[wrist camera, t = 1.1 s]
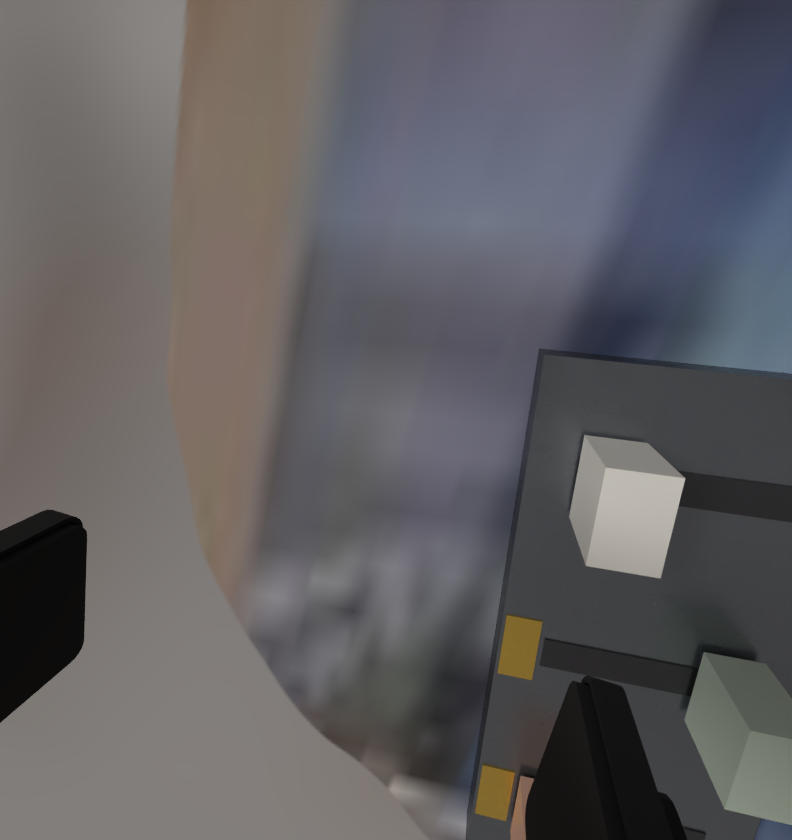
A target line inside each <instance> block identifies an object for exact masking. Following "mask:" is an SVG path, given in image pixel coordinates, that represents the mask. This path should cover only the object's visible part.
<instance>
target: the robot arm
mask: <svg viewBox="0 0 792 840" xmlns="http://www.w3.org/2000/svg"><path fill="white" fill-rule="evenodd" d="M86 552H87V532H86V530H85V529H84V528H83V525H82V522H81V520H80V519H78V518H77V517H74V516H70V515H67V514H64V513H61V512H57V511H54V510H45V511H42V512H40V513H38V514H35V515H33V516H31V517H29V518H27V519H25V520H23V521H20V522H19V523H16V524H14V525H12V526H10V527H8V528H6V529H3V530H1V531H0V722H2V721H3V720H4V719H5V718H6V717H7V716H8V715H10V714H11V713H12V712H13V711H14V710H15V709H17V708H18V707H19V706H20V705H21V704H22V703H24V702H25V701H26V700H27V699H28V698H30V697H31V696H32V695H33V694H34V693H35V692H37V691H38V690H39V689H40V688H41V687H42V686H43V685H45V684H46V683H47V682H48V681H49V680H51V679H52V678H53V677H54V676H55V675H56V674H58V673H59V672H60V671H61V670H62V669H63V668H65V667H66V666H67V665H68V664H69V663H70V662H71V661H72V660H74V659H75V658H76V656H77V655H78V654H79V652H80V650H81V648H82V645H83V642H84V621H85V587H86V586H85V585H86ZM525 832H526V840H687V837H686V834H685V832H684V829H683V826H682V823H681V820H680V817H679V815H678V812H677V810H676V808H675V806H674V803H673V801H672V800H671V799H670V798H669V797H668V796H667V794H664V793H661V792H658V790H657V787H656V784H655V781H654V778H653V775H652V772H651V769H650V766H649V763H648V760H647V757H646V754H645V751H644V748H643V745H642V742H641V738H640V735H639V732H638V729H637V726H636V723H635V720H634V717H633V714H632V711H631V708H630V705H629V702H628V699H627V696H626V693H625V691H624V689H623V687H621V686H620V685H617V684H614V683H611V682H607V681H604V680H601V679H598V678H594V677H591V676H585V677H584V678H583V679H582V681H581V683H579V682H576V681H572V682H571V683H570V685H569V687H568V689H567V692H566V695H565V698H564V700H563V703H562V706H561V708H560V711H559V714H558V716H557V719H556V722H555V724H554V727H553V730H552V732H551V735H550V738H549V740H548V743H547V746H546V749H545V751H544V754H543V757H542V759H541V762H540V765H539V767H538V770H537V773H536V775H535V778H534V781H533V783H532V786H531V789H530V792H529V794H528V798H527V803H526V810H525Z"/></svg>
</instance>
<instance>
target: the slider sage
mask: <svg viewBox="0 0 792 840" xmlns="http://www.w3.org/2000/svg"><path fill="white" fill-rule="evenodd" d="M685 723H686V725H687V727H688V729H689V732H690V734H691V736H692V738H693V741H694V743H695V745H696V747H697V749H698V752H699V754H700V756H701V758H702V761H703V763H704V765H705V767H706V769H707V772H708V774H709V776H710V778H711V781H712V783H713V785H714V787H715V789H716V792H717V794H718V796H719V798H720V801H721V803H722V805H723V807H724V809H725V810H730V811H734V812H738V813H742V814H746V815H751V816H755V817H759V818H763V819H768V820H772V821H776V822H780V823H784V824H789V825H792V698H791V697H790V695H789V694H788V693H787V691H786V690H785V689H784V687H783V686H782V685H781V683H780V682H779V681H778V679H777V678H776V677H775V675H774V674H773V673H772V671H771V670H770V669H769V667H768V666H767V664H765V663H759V662H754V661H749V660H744V659H738V658H733V657H728V656H723V655H717V654H712V653H707V652H704V653H703V657H702V660H701V664H700V667H699V671H698V674H697V678H696V681H695V685H694V688H693V692H692V695H691V699H690V702H689V706H688V709H687V713H686V716H685Z"/></svg>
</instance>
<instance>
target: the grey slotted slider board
mask: <svg viewBox="0 0 792 840" xmlns="http://www.w3.org/2000/svg"><path fill="white" fill-rule="evenodd" d="M584 435H588V436H596V437H604V438H612V439H620V440H628V441H636V442H644V443H648V444H649V445H651V446H652V447H653V448H654V449H655V450H656V451H657V452H658V453H659V454H660V455H661V456H662V457H663V458H664V459H665V460H666V461H667V462H669V463H670V464H671V465H672V466H673V467H674V468H675V469H676V470H677V471H678V472H679V473H680V474H681V475H682V476H683V477H684V478H685V482H684V486H683V490H682V494H681V498H680V502H679V506H678V510H677V514H676V518H675V522H674V526H673V530H672V534H671V538H670V542H669V546H668V550H667V554H666V558H665V563H664V567H663V571H662V575H661V579H660V578H654V577H648V576H642V575H636V574H631V573H625V572H619V571H613V570H607V569H601V568H595V567H589V566H586V565H585V562H584V559H583V556H582V553H581V550H580V547H579V544H578V541H577V538H576V535H575V532H574V529H573V527H572V524H571V521H570V518H569V515H570V509H571V504H572V499H573V493H574V488H575V483H576V477H577V472H578V467H579V461H580V456H581V451H582V445H583V440H584ZM704 652H707V653H712V654H717V655H723V656H728V657H733V658H738V659H744V660H749V661H754V662H759V663H765V664H767V666H768V667H769V669H770V670H771V671H772V673H773V674H774V675H775V677H776V678H777V679H778V681H779V682H780V683H781V685H782V686H783V687H784V689H785V690H786V691H787V693H788V694H789V695H790V697H791V698H792V374H787V373H777V372H767V371H757V370H747V369H737V368H727V367H717V366H707V365H697V364H687V363H677V362H667V361H657V360H647V359H637V358H627V357H617V356H607V355H597V354H586V353H576V352H566V351H556V350H546V349H539V354H538V360H537V366H536V373H535V379H534V386H533V392H532V399H531V405H530V411H529V418H528V424H527V431H526V437H525V444H524V450H523V456H522V463H521V469H520V476H519V482H518V489H517V495H516V501H515V508H514V514H513V521H512V527H511V534H510V540H509V546H508V553H507V559H506V566H505V572H504V579H503V585H502V591H501V598H500V604H499V611H498V617H497V624H496V630H495V636H494V643H493V649H492V656H491V662H490V669H489V675H488V681H487V688H486V694H485V701H484V707H483V714H482V720H481V726H480V733H479V739H478V746H477V752H476V759H475V765H474V771H473V778H472V784H471V791H470V797H469V804H468V810H467V825H466V840H511V835H510V830H511V824H512V819H513V814H514V808H515V803H516V798H517V792H518V787H519V782H520V776H524V777H528V778H533V779H534V778H535V775H536V773H537V770H538V767H539V765H540V762H541V759H542V757H543V754H544V751H545V749H546V746H547V743H548V740H549V738H550V735H551V732H552V730H553V727H554V724H555V722H556V719H557V716H558V714H559V711H560V708H561V706H562V703H563V700H564V698H565V695H566V692H567V689H568V687H569V685H570V683H571V682H572V681H576V682H579V683H581V681H582V679H583V678H584V677H585V676H591V677H594V678H598V679H601V680H604V681H607V682H611V683H614V684H617V685H620V686H621V687H623V689H624V691H625V693H626V696H627V699H628V702H629V705H630V708H631V711H632V714H633V717H634V720H635V723H636V726H637V729H638V732H639V735H640V738H641V742H642V745H643V748H644V751H645V754H646V757H647V760H648V763H649V766H650V769H651V772H652V775H653V778H654V781H655V784H656V787H657V790H658V792H661V793H664V794H667V796H668V797H669V798H670V799H671V800H672V801H673V803H674V806H675V808H676V810H677V812H678V815H679V817H680V820H681V823H682V826H683V829H684V832H685V834H686V837H687V840H753V839H754V837H755V834H756V831H757V828H758V825H759V823H760V820H761V818H759V817H755V816H751V815H746V814H742V813H738V812H734V811H730V810H725V809H724V807H723V805H722V803H721V801H720V798H719V796H718V794H717V792H716V789H715V787H714V785H713V783H712V781H711V778H710V776H709V774H708V772H707V769H706V767H705V765H704V763H703V761H702V758H701V756H700V754H699V752H698V749H697V747H696V745H695V743H694V741H693V738H692V736H691V734H690V732H689V729H688V727H687V725H686V723H685V716H686V713H687V709H688V706H689V702H690V699H691V695H692V692H693V688H694V685H695V681H696V678H697V674H698V671H699V667H700V664H701V660H702V657H703V653H704Z"/></svg>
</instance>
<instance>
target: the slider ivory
mask: <svg viewBox="0 0 792 840" xmlns="http://www.w3.org/2000/svg"><path fill="white" fill-rule="evenodd" d="M684 482H685V478H684V477H683V476H682V475H681V474H680V473H679V472H678V471H677V470H676V469H675V468H674V467H673V466H672V465H671V464H670V463H669V462H667V461H666V460H665V459H664V458H663V457H662V456H661V455H660V454H659V453H658V452H657V451H656V450H655V449H654V448H653V447H652V446H651V445H649V444H648V443H644V442H636V441H628V440H620V439H612V438H604V437H596V436H588V435H584V440H583V445H582V451H581V456H580V461H579V467H578V472H577V477H576V483H575V488H574V493H573V499H572V504H571V509H570V515H569V518H570V521H571V524H572V527H573V529H574V532H575V535H576V538H577V541H578V544H579V547H580V550H581V553H582V556H583V559H584V562H585V565H586V566H589V567H595V568H601V569H607V570H613V571H619V572H625V573H631V574H636V575H642V576H648V577H654V578H660V579H661V575H662V571H663V567H664V563H665V558H666V554H667V550H668V546H669V542H670V538H671V534H672V530H673V526H674V522H675V518H676V514H677V510H678V506H679V502H680V498H681V494H682V490H683V486H684Z"/></svg>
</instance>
